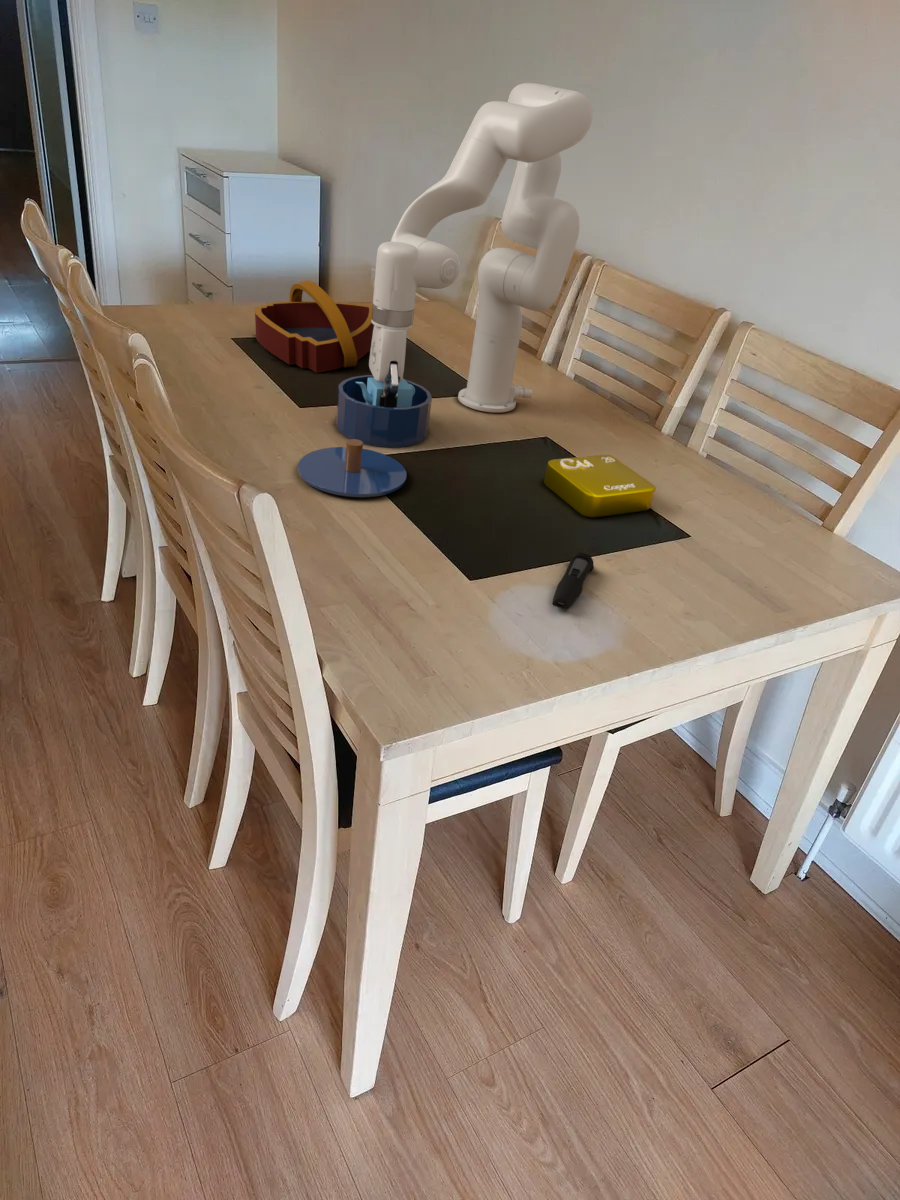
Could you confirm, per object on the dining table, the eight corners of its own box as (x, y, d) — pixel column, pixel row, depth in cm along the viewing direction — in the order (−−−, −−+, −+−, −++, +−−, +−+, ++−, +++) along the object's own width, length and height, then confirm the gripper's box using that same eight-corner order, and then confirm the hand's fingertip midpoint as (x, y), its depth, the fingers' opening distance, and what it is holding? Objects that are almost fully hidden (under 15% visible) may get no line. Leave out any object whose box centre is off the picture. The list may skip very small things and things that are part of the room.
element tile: (585, 519, 147) (592, 494, 145) (539, 481, 158) (544, 457, 155) (654, 510, 154) (661, 486, 151) (605, 474, 165) (610, 450, 162)
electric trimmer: (543, 612, 122) (547, 593, 120) (570, 562, 134) (574, 545, 132) (569, 620, 121) (573, 601, 119) (594, 569, 133) (598, 552, 131)
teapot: (356, 422, 163) (360, 383, 159) (348, 409, 167) (351, 371, 163) (417, 421, 167) (421, 383, 163) (406, 409, 172) (411, 372, 168)
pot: (402, 408, 179) (405, 373, 175) (443, 443, 167) (448, 406, 163) (322, 414, 171) (324, 377, 167) (359, 451, 158) (362, 412, 154)
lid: (378, 448, 160) (381, 417, 157) (424, 493, 148) (428, 460, 144) (281, 458, 152) (282, 424, 148) (322, 506, 139) (324, 471, 135)
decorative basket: (242, 334, 212) (233, 271, 203) (354, 317, 222) (350, 256, 213) (280, 386, 188) (272, 318, 179) (405, 364, 198) (402, 298, 188)
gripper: (364, 301, 163) (357, 392, 173) (380, 329, 149) (371, 427, 159) (403, 304, 165) (394, 394, 175) (423, 332, 151) (411, 428, 161)
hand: (383, 409), depth 167 cm, fingers closed on teapot, 6 cm apart
